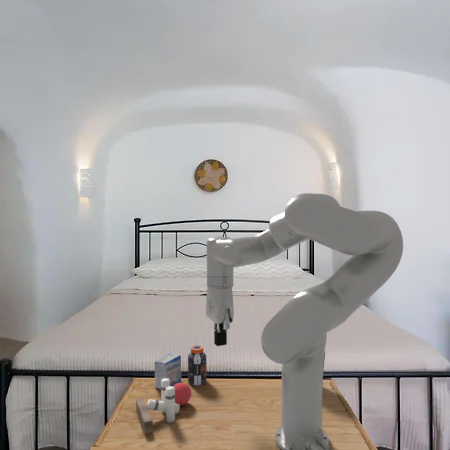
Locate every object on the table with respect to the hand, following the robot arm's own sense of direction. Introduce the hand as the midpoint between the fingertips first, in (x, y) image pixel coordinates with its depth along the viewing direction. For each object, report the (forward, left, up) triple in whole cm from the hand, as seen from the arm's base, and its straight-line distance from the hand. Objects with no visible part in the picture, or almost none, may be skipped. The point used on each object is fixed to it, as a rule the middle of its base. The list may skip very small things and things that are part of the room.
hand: (220, 344), depth 106 cm
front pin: (0, +13, -16) cm, 20 cm away
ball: (+4, +11, -14) cm, 18 cm away
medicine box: (+17, +11, -17) cm, 27 cm away
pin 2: (-3, +16, -17) cm, 23 cm away
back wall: (0, +22, -17) cm, 28 cm away
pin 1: (+2, +16, -17) cm, 23 cm away
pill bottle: (+15, +2, -17) cm, 23 cm away
